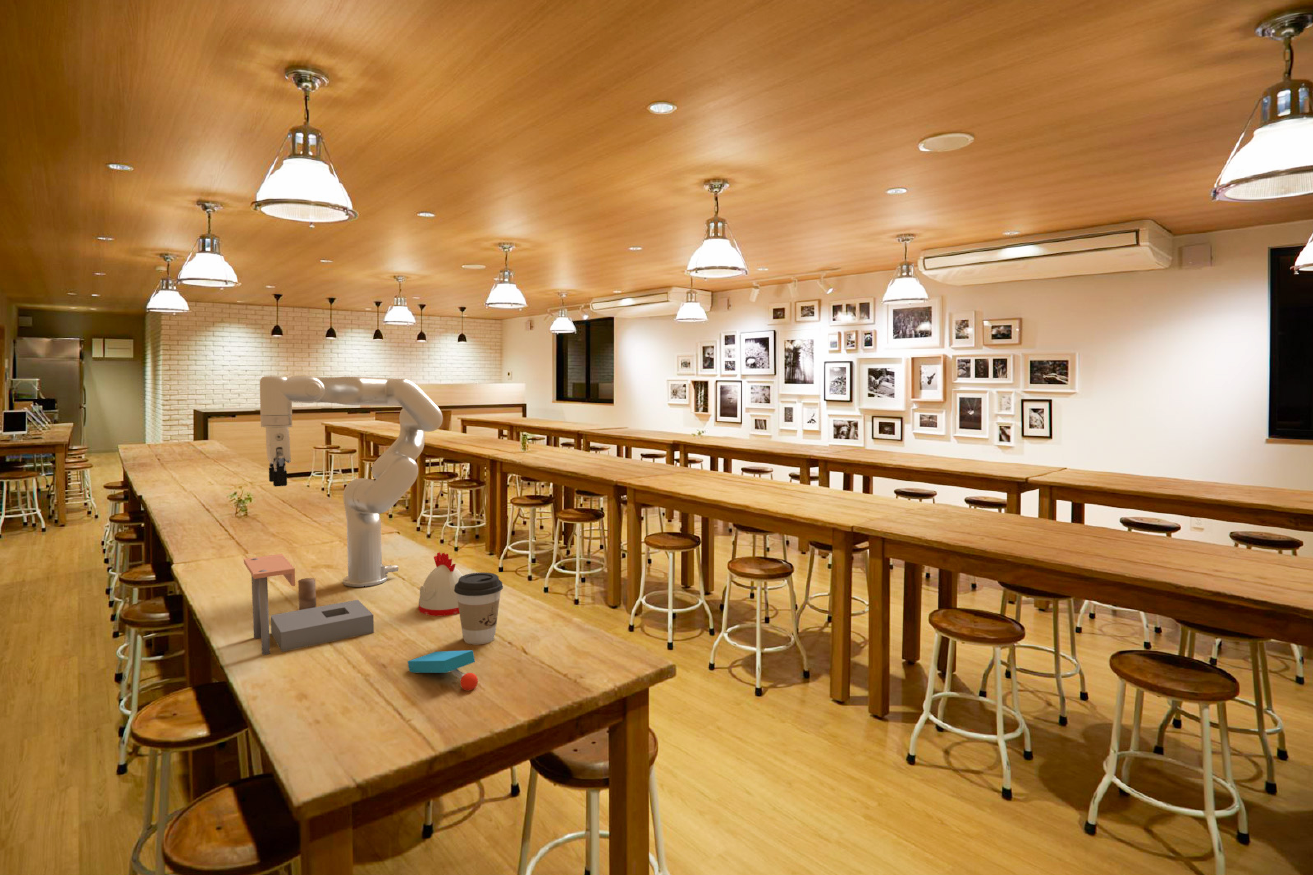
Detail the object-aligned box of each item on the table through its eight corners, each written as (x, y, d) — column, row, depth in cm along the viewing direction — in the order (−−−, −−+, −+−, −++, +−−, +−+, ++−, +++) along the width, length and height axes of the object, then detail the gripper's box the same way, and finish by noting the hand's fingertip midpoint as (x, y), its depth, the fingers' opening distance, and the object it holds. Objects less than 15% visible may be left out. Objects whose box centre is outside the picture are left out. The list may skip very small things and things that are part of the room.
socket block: (358, 616, 177) (357, 599, 177) (373, 632, 166) (373, 614, 166) (271, 633, 165) (270, 615, 165) (281, 651, 154) (281, 632, 154)
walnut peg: (314, 610, 182) (313, 577, 181) (317, 614, 179) (316, 580, 178) (297, 613, 179) (296, 579, 179) (301, 617, 176) (299, 583, 176)
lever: (413, 694, 145) (460, 696, 133) (407, 661, 145) (454, 660, 134) (441, 683, 150) (489, 684, 138) (435, 651, 150) (483, 650, 139)
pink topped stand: (284, 629, 168) (281, 553, 166) (297, 650, 155) (294, 568, 154) (246, 636, 163) (243, 558, 161) (257, 658, 150) (253, 574, 149)
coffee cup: (478, 652, 155) (477, 587, 154) (444, 641, 161) (443, 579, 160) (513, 636, 165) (513, 576, 164) (480, 627, 171) (479, 568, 170)
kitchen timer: (450, 596, 195) (449, 544, 194) (482, 605, 187) (481, 552, 186) (408, 609, 184) (406, 554, 183) (440, 619, 176) (439, 562, 175)
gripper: (296, 423, 181) (298, 486, 182) (287, 419, 195) (289, 479, 196) (264, 423, 176) (265, 488, 178) (257, 420, 190) (259, 480, 192)
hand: (278, 483), depth 187 cm, fingers open, 9 cm apart
